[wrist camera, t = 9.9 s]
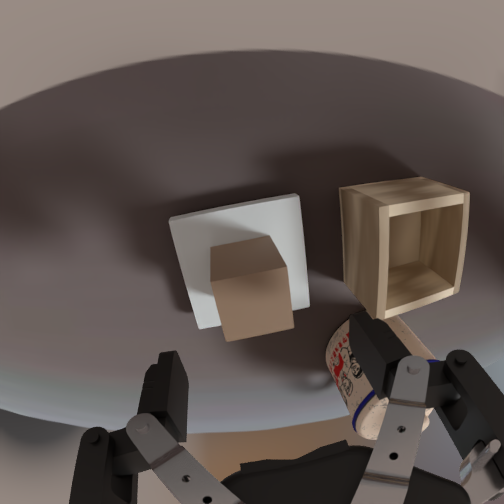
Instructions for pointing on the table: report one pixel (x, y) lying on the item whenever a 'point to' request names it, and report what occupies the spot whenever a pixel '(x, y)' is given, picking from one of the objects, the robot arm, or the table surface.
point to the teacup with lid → (357, 385)
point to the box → (403, 242)
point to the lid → (244, 265)
